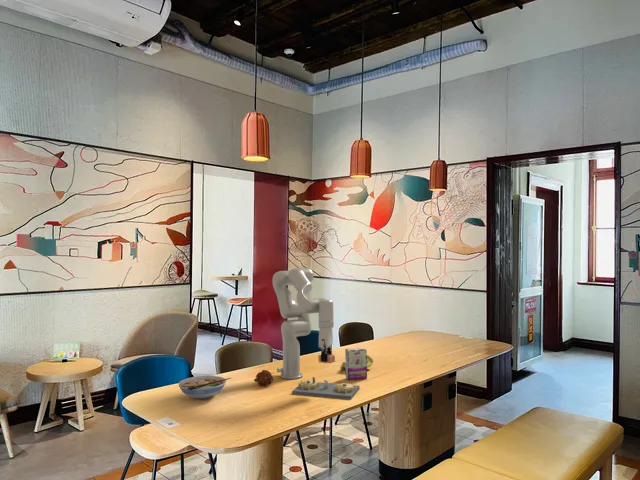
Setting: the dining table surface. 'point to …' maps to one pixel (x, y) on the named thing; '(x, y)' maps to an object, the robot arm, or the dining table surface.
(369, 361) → the plastic component
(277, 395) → the dining table surface
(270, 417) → the dining table surface
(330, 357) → the idler gear
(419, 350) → the dining table surface
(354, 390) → the gear board
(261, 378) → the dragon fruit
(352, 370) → the candy bar box
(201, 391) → the ramen bowl
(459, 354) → the dining table surface
